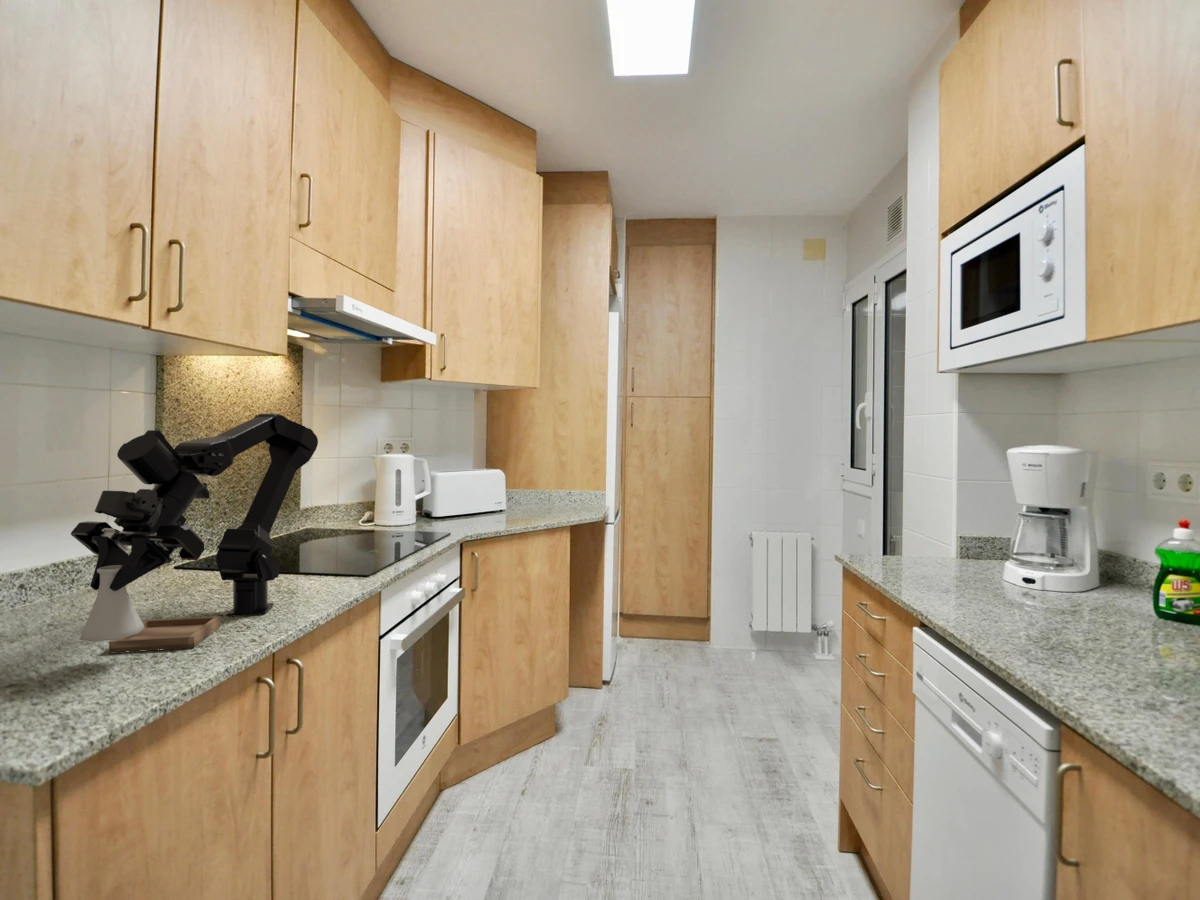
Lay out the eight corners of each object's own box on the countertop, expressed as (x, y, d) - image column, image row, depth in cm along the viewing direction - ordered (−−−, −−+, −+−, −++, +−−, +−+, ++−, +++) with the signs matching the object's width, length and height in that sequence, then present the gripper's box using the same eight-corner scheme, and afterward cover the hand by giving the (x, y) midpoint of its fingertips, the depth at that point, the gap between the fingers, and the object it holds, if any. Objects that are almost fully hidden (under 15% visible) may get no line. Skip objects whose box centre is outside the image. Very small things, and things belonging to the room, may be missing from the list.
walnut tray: (144, 630, 108) (144, 620, 108) (220, 626, 110) (220, 616, 110) (109, 653, 96) (109, 641, 96) (194, 648, 99) (194, 636, 99)
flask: (154, 627, 96) (154, 561, 95) (120, 643, 88) (119, 572, 88) (106, 627, 95) (104, 562, 95) (67, 643, 88) (65, 572, 88)
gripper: (81, 469, 97) (4, 554, 86) (188, 471, 94) (121, 560, 83) (129, 513, 105) (63, 596, 94) (228, 517, 102) (172, 603, 91)
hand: (102, 589), depth 90 cm, fingers closed on flask, 3 cm apart
